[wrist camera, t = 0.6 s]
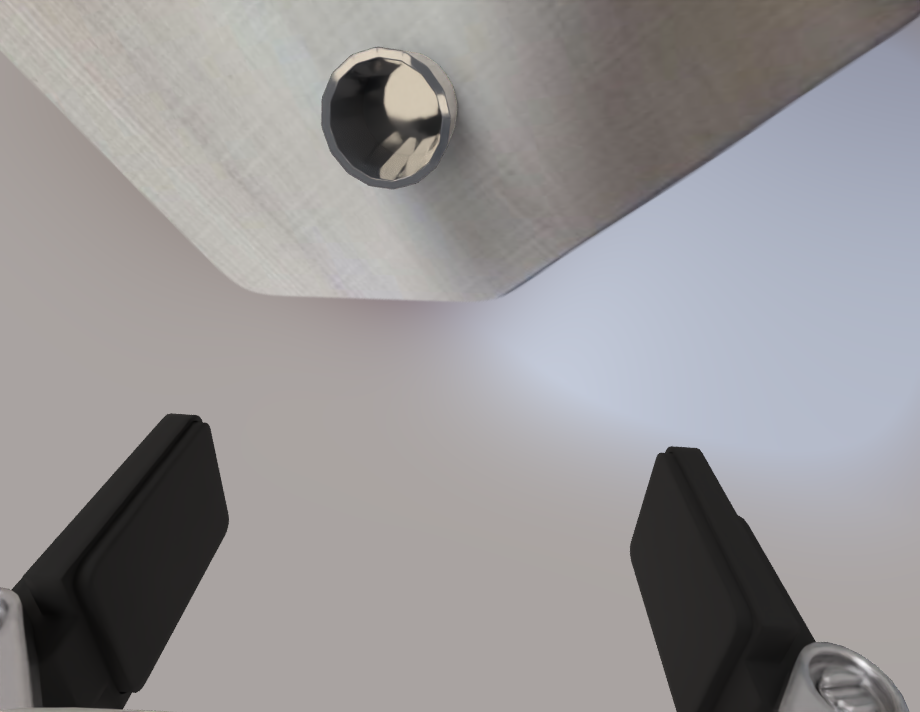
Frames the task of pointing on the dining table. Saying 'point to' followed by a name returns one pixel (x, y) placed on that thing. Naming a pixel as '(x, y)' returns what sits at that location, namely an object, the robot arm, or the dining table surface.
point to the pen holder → (388, 116)
